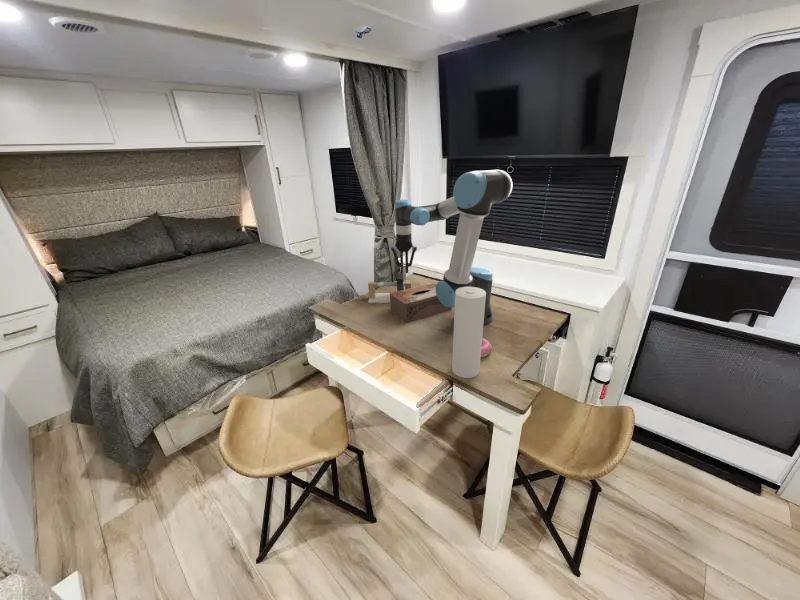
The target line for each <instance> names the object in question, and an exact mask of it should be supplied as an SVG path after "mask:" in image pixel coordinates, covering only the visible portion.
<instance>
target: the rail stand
mask: <svg viewBox="0 0 800 600" xmlns="http://www.w3.org/2000/svg"><path fill="white" fill-rule="evenodd" d="M367 285H368V289H367V290H368V302H367V304H390V293H391V292H376V287H383V288H384V287H397V281H396V282H395V281H394V282H389V281H388V282H384V281H382V282H375V281H368V284H367ZM403 286H404V290H405V289H409V288H412V281H407V280H406V281H405V280H404V282H403Z"/></svg>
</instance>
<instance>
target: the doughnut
mask: <svg viewBox="0 0 800 600" xmlns="http://www.w3.org/2000/svg"><path fill="white" fill-rule="evenodd" d="M492 349H493V347H492V344H491V343H490V341H489V340H487V339H486V338H483V337H482V346H481V357H480V358H485V357H487V356H488V355H489V354H491V352H492Z"/></svg>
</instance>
